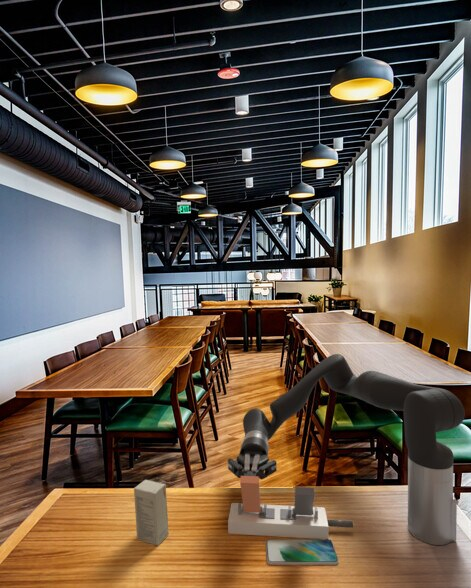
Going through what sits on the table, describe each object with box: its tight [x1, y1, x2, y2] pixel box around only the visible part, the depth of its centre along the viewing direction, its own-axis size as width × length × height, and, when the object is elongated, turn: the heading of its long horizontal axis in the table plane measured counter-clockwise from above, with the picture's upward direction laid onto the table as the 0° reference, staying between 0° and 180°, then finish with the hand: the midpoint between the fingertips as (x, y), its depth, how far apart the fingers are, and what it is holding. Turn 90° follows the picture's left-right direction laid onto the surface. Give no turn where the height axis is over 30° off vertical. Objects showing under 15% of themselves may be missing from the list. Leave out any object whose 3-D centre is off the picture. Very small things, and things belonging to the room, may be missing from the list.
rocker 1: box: [239, 476, 263, 513], centre depth 88 cm, size 5×2×14 cm
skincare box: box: [133, 479, 169, 546], centre depth 88 cm, size 6×4×12 cm
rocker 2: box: [293, 486, 316, 516], centre depth 86 cm, size 5×2×14 cm
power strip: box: [227, 502, 354, 539], centre depth 91 cm, size 29×7×5 cm, turn 84°
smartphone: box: [265, 538, 340, 566], centre depth 83 cm, size 7×1×15 cm
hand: (248, 484), depth 87 cm, fingers closed
